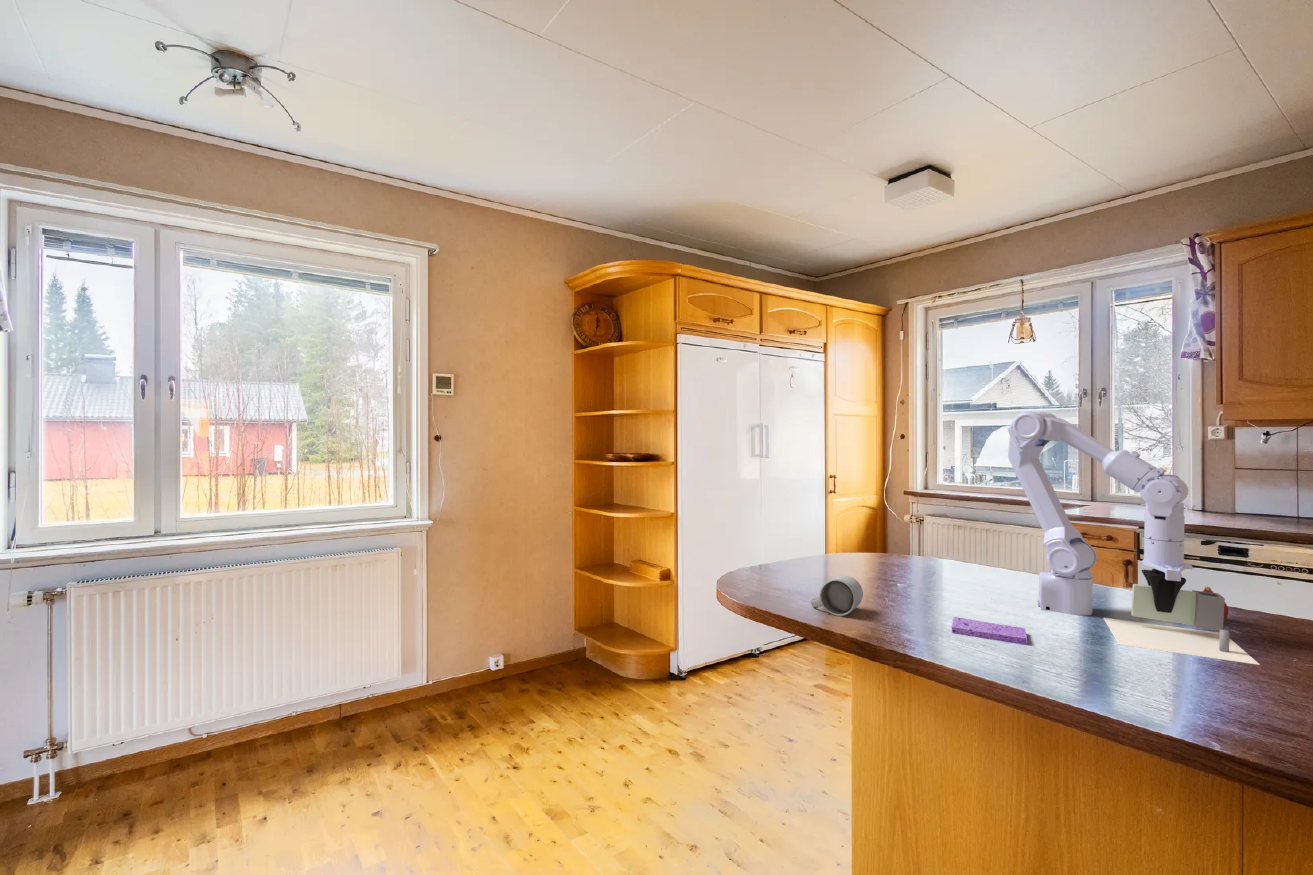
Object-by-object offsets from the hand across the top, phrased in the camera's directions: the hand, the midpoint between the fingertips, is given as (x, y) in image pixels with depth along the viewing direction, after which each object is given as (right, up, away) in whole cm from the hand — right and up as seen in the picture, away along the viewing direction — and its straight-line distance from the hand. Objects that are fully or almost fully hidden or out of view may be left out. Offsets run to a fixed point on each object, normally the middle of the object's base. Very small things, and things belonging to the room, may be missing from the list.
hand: (1162, 610), depth 111 cm
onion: (+14, -5, +6) cm, 16 cm away
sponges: (-32, -6, +2) cm, 32 cm away
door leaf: (+1, -2, -1) cm, 3 cm away
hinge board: (-2, -5, -5) cm, 7 cm away
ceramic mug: (-57, -5, +17) cm, 60 cm away
